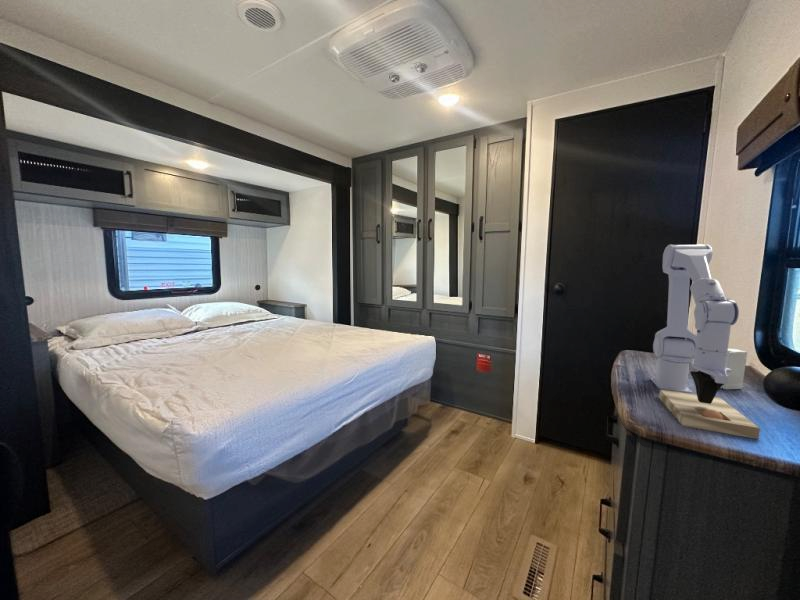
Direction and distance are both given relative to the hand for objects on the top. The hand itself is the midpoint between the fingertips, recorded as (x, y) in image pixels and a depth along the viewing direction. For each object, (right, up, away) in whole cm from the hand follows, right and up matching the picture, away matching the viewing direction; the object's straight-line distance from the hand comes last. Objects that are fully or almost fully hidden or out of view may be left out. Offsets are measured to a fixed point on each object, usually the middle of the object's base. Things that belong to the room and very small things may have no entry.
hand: (704, 402), depth 79 cm
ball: (-2, -2, -4) cm, 5 cm away
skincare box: (+27, -2, +20) cm, 33 cm away
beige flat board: (0, -4, +1) cm, 4 cm away
